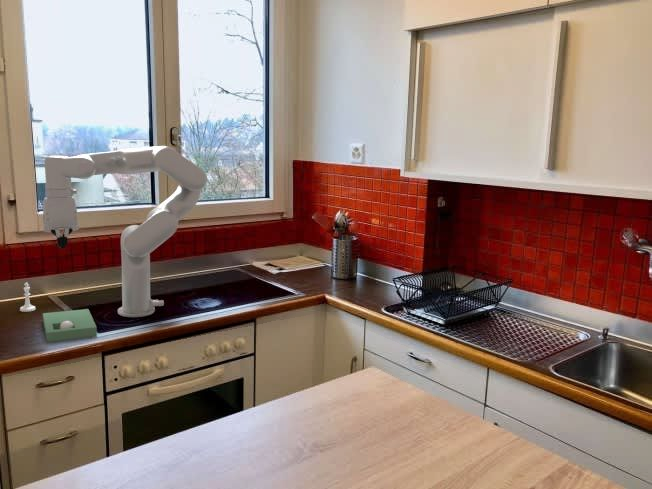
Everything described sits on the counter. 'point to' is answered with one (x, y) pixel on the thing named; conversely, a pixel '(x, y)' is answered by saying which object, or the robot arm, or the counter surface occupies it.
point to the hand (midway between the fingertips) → (62, 248)
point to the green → (81, 329)
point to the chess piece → (27, 300)
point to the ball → (66, 325)
